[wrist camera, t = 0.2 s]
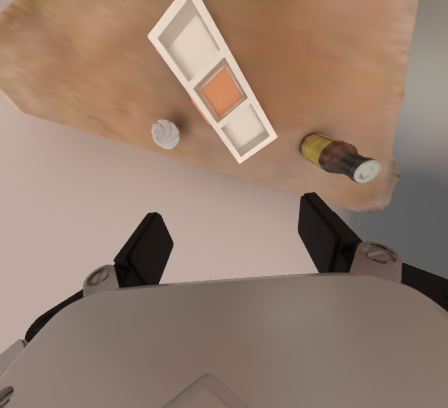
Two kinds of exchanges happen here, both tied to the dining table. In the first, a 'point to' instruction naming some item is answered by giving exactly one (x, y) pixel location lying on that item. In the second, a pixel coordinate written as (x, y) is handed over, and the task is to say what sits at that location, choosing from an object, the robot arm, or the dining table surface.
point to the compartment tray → (212, 77)
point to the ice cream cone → (165, 134)
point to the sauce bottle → (339, 158)
